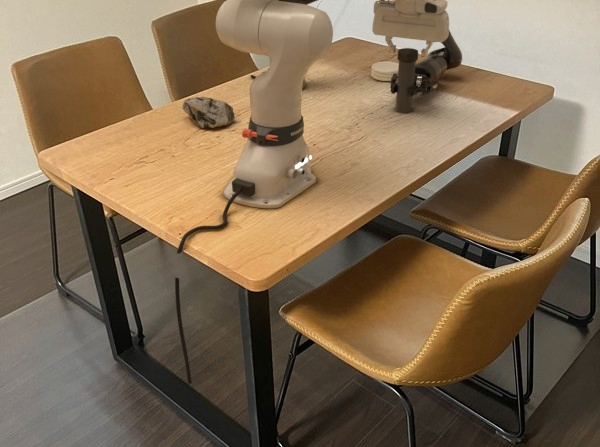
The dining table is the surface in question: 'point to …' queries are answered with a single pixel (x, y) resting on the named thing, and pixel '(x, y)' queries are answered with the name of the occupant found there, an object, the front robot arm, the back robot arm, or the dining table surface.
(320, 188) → the dining table surface
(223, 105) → the rock
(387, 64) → the cream short cylinder
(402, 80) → the brown cylindrical canister
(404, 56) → the lid
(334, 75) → the dining table surface
